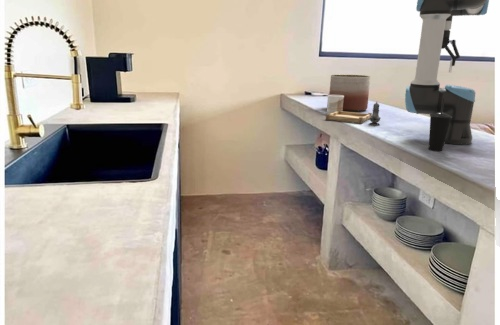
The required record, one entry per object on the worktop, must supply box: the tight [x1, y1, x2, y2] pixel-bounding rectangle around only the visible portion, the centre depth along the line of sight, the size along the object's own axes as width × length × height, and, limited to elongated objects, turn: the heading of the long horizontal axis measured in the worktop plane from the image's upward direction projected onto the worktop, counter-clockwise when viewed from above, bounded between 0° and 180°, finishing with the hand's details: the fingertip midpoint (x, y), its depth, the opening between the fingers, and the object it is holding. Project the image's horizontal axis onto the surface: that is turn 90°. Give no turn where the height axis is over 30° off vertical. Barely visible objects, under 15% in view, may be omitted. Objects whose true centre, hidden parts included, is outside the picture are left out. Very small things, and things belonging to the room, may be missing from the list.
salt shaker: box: [368, 101, 382, 126], centre depth 194 cm, size 6×6×12 cm
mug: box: [326, 94, 344, 114], centre depth 229 cm, size 10×12×11 cm
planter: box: [328, 74, 371, 113], centre depth 244 cm, size 25×25×22 cm
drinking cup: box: [428, 98, 452, 152], centre depth 142 cm, size 8×8×20 cm
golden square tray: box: [325, 110, 373, 125], centre depth 210 cm, size 20×20×3 cm
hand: (436, 71), depth 199 cm, fingers open, 13 cm apart
